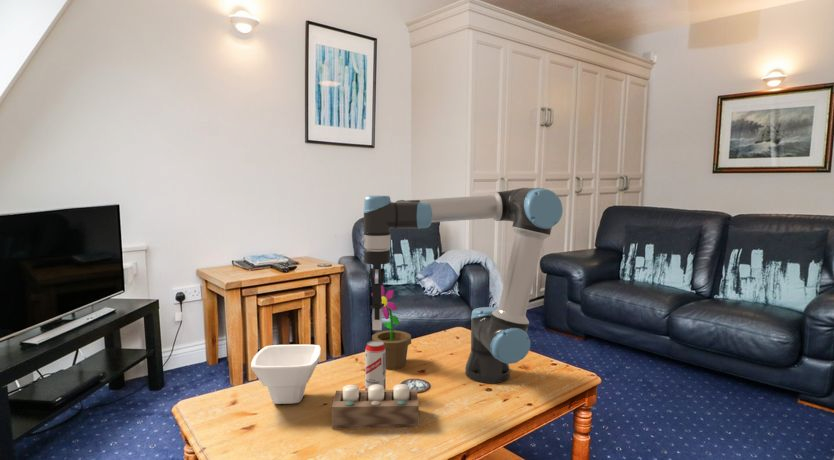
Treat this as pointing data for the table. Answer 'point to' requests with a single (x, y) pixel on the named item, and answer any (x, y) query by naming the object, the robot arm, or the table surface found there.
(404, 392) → the button
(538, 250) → the robot arm
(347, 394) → the button
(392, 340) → the flowerpot
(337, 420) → the button board
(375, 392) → the button middle
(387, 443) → the table surface
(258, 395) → the table surface
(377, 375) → the beer can
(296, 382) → the bowl
